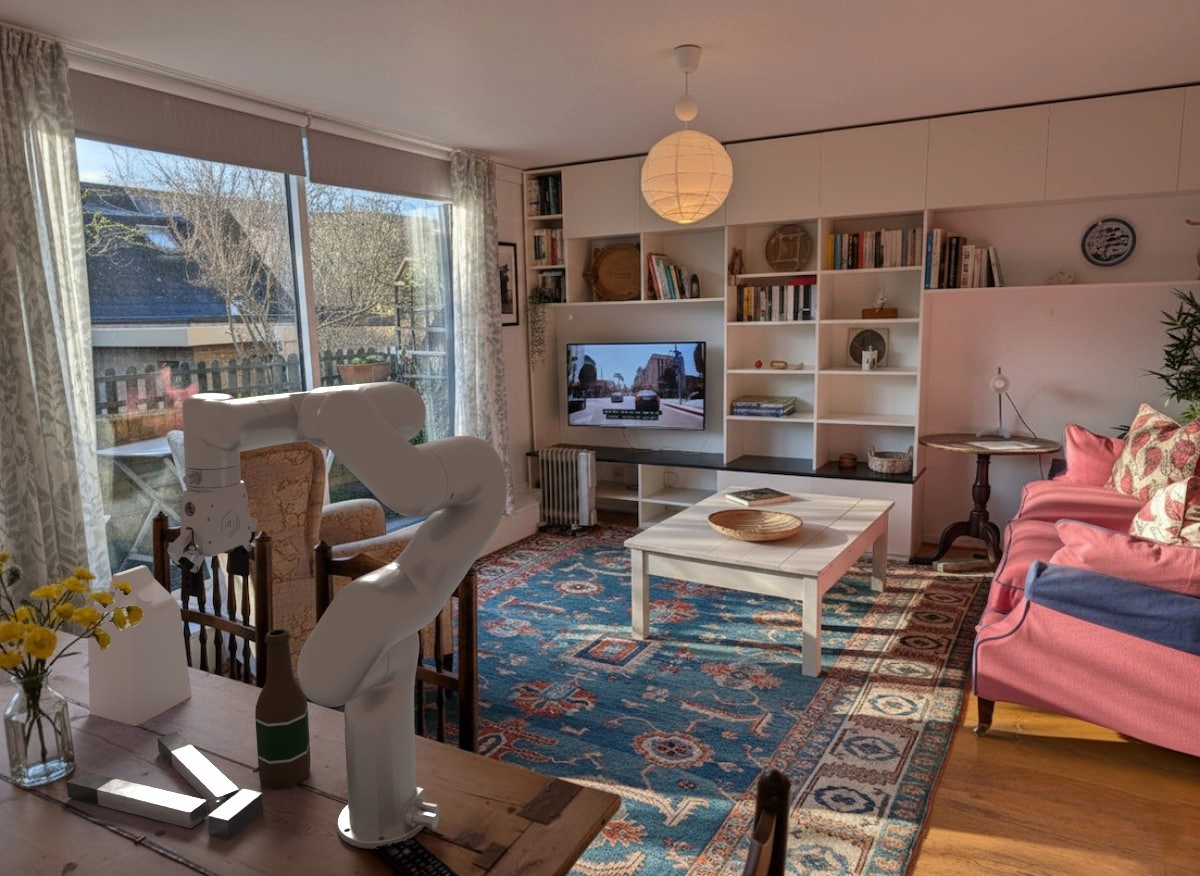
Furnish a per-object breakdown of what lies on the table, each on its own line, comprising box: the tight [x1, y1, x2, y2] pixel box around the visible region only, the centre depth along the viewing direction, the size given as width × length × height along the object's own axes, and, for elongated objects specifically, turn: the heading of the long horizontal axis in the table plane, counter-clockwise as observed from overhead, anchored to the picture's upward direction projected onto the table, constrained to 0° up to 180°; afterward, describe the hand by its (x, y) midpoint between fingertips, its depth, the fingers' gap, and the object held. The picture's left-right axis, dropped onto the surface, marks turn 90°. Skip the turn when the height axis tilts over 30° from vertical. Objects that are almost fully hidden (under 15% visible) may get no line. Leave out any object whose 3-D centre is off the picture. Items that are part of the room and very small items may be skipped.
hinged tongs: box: [66, 771, 264, 841], centre depth 121 cm, size 30×7×3 cm, turn 72°
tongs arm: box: [157, 730, 239, 815], centre depth 127 cm, size 26×5×2 cm, turn 47°
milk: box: [87, 564, 193, 727], centre depth 150 cm, size 12×12×26 cm
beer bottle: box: [254, 628, 311, 791], centre depth 127 cm, size 8×8×24 cm
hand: (217, 585), depth 126 cm, fingers open, 9 cm apart
